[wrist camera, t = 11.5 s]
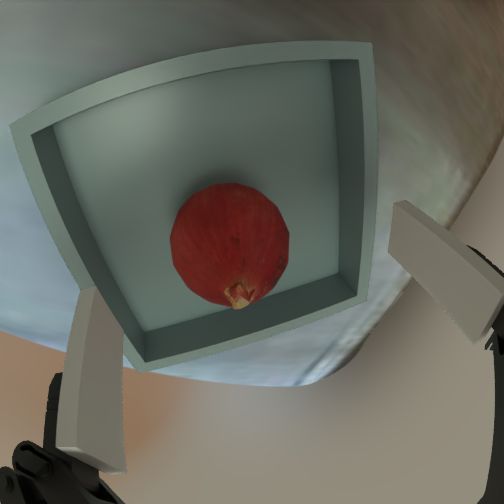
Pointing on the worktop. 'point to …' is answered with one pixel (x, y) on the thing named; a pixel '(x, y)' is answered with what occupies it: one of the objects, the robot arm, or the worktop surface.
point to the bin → (207, 174)
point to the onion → (230, 244)
